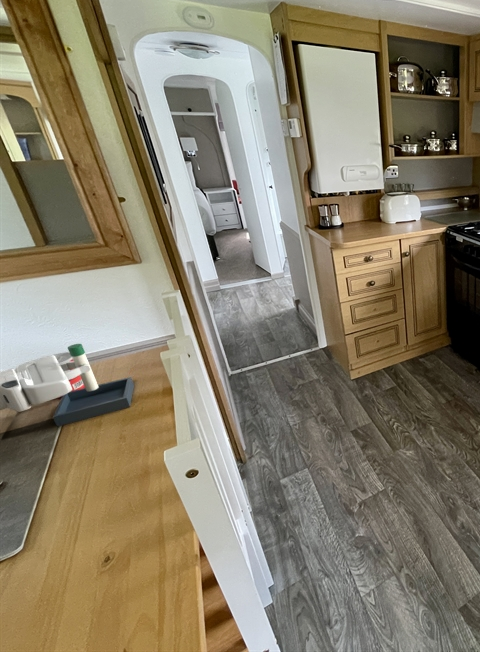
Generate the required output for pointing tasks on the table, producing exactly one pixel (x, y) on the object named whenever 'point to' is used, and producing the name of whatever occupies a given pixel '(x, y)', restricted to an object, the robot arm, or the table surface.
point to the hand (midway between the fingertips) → (87, 364)
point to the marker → (80, 359)
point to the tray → (94, 401)
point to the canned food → (66, 357)
